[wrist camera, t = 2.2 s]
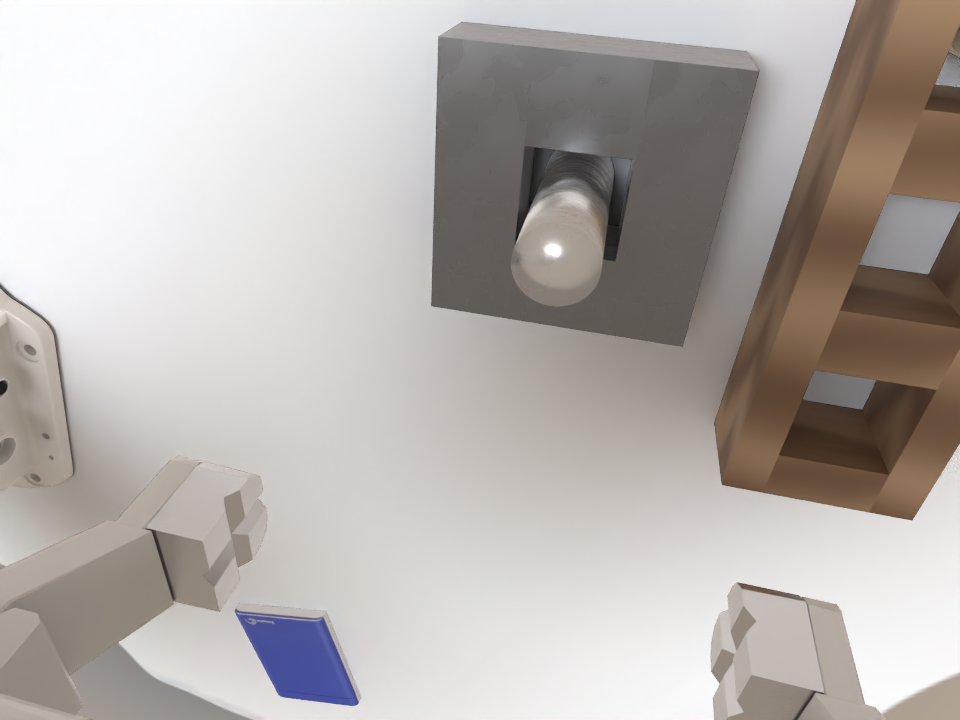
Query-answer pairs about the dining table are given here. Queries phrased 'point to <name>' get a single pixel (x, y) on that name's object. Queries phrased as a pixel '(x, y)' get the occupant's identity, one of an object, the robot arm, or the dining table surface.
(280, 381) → the dining table surface
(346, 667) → the hard drive
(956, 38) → the cylinder
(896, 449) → the rack
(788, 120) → the dining table surface
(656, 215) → the socket block
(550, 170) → the steel peg
